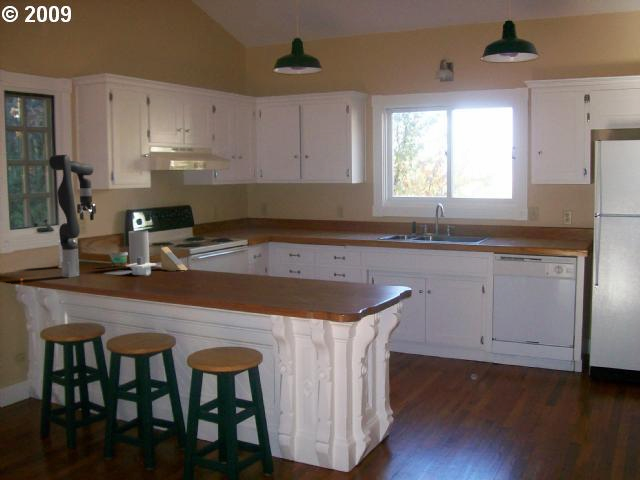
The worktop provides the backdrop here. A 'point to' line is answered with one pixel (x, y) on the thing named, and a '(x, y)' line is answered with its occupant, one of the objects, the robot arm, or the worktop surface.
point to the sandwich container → (170, 261)
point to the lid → (141, 263)
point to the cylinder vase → (138, 246)
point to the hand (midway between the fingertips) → (87, 219)
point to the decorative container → (60, 254)
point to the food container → (118, 259)
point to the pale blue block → (141, 271)
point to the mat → (119, 272)
